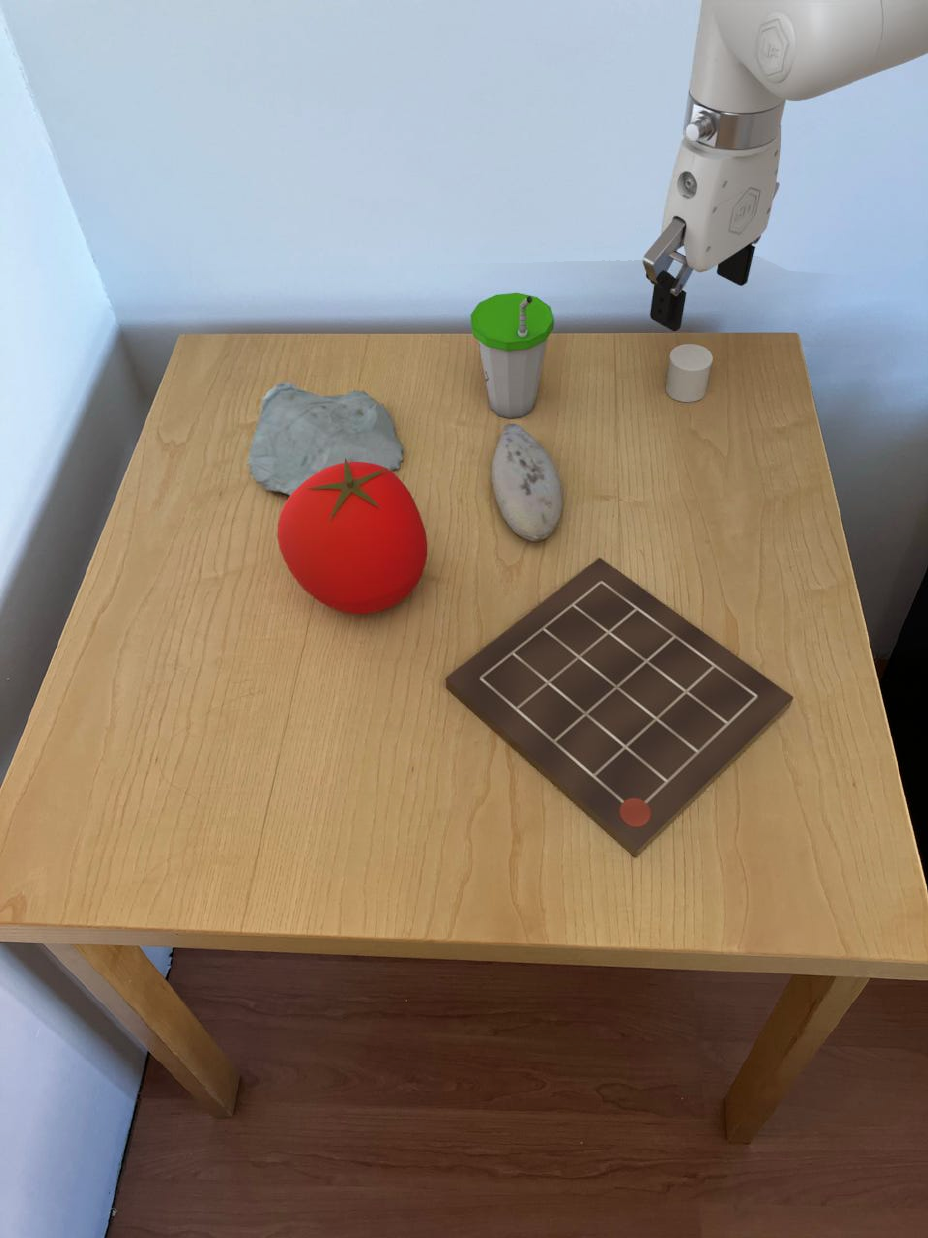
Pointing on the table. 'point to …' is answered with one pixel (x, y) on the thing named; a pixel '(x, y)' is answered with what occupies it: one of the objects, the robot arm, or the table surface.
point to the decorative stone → (526, 484)
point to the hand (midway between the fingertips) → (698, 300)
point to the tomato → (353, 538)
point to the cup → (512, 349)
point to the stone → (318, 436)
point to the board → (619, 702)
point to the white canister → (688, 372)
